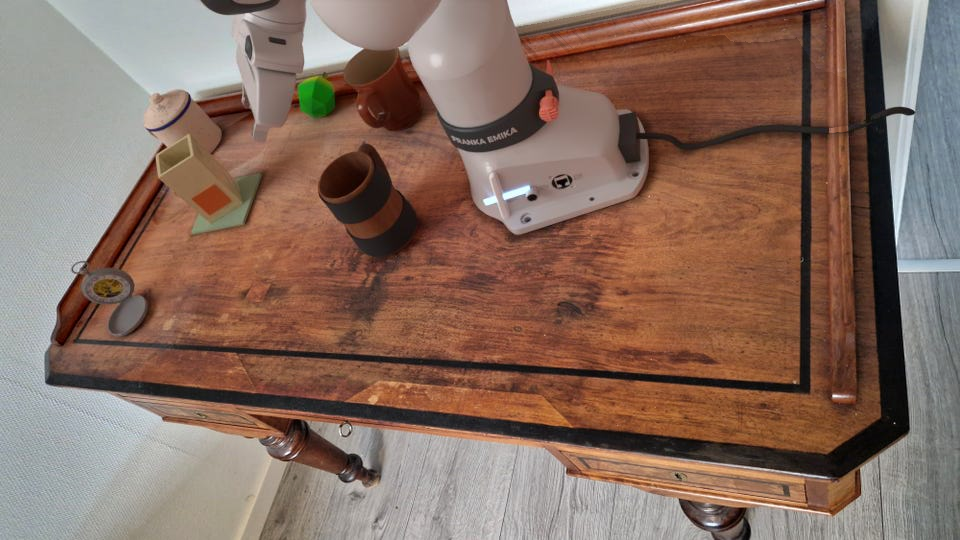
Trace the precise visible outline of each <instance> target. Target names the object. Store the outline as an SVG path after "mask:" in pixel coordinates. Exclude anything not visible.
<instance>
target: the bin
mask: <svg viewBox="0 0 960 540" xmlns="http://www.w3.org/2000/svg"><path fill="white" fill-rule="evenodd" d="M155 163H156V171H157V178H158V179H159V180H160V181H161V182H162V183H163V184H164V185H166V186H167V187H168V188H169V189H170V190H171V191H172V192H173V193H175V194H176V195H177V196H178V197H179V198H180V199H181V200H182V201H183V202H185V203H186V204H187V205H188V206H189V207H190V208H191V209H192V210H194V211H195V212H196V213H197V215H198V214H200V215H201V216H202V217H203V218H204V219H205V220H206V221H208V222H209V223H210V224H212V223H213V222H215V221H217V220H218V219H220V218H221V217H223V216H225V215H226V214H228V213H229V212H231V211H232V210H234V209H236V208H237V207H239V206H240V205H242V204H243V201H242V197H241V193H240V189H239V185H238V181H237V180H235V178H236V177H234V176H233V175H232V174H231V173H230V172H229V171H228V170H227V169H226V168H225V167H224V166H223V165H222V164H221V163H220V162H219V161H218V160H217V159H216V158H215V157H214V156H213V155H212V153H209V152H208V151H207V150H206V149H205V148H204V147H203V146H202V145H201V144H200V143H199V142H198V141H197V140H196V139H195V138H194V137H193V136H192V135H191V134H190V133H189V134H188V135H186V136H185V137H183V138H181V139H180V140H178V141H177V142H175V143H174V144H172V145H170V146H169V147H167V146H166V148H164V149H163V150H161V151H159V152H158V153H156V154H155Z"/></svg>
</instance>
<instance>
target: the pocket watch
mask: <svg viewBox="0 0 960 540" xmlns="http://www.w3.org/2000/svg"><path fill="white" fill-rule="evenodd" d="M78 264H86V267H80V268H79V271H74V268H75V266H77V265H78ZM89 268H90V263H89V262H88V261H87V260H80V261H76V262H75V263H73V264H72V266H71V268H70V271H71V272H72V273H73V274H74V275H85V276H84V278H83V279H82V282H81V285H80V288H81V293H82V295H83V296H84V297H85V298H86V299H87V300H89V301H90V302H93V303H96V304H98V305H99V304H100V305H117V304H118V305H117V306H116V307H115V308H114V309H113V311H112V312H111V314H110V315H109V318H108V321H107V331H108V333H109V334H110V335H112V336H114V337H123V336H127V335H128V334H130V333H132V332H133V331H135V329H137V328H138V327H139V326H140V325H141V323H142V322H143V321H144V319H145V318H146V315H147V313H148V310H149V303H148V299H146V298H145V297H144V296H142V295H139V294H136V295H133V293H134V292H135V282H134V278H132V276H131V275H130V274H129V273H128V272H126V271H125V270H122V269H120V268H116V267H102V268H97V269H94V270H92V271H89Z"/></svg>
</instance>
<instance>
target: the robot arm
mask: <svg viewBox="0 0 960 540" xmlns="http://www.w3.org/2000/svg"><path fill="white" fill-rule="evenodd" d="M195 1H196V2H197V3H198V4H199V5H201V6H202V7H204V8H205V9H207V10H209V11H211V12H213V13H216V14H218V15H222V16H233V21H232V28H231V37H232V39H233V40H234V41H235V42H236V43H237V44H236V45H237V46H236V52H235V62H236V64H237V65H236V66H237V67H238V72H239V74H240V77H241V81H242V83H241V84H242V86H241V87H242V95H241V96H242V97H241V104H242V107H243V108H244V109H245V110H246V109H249V110H251V112H252V115H253V118H254V124H252V128H251V138H252V140H253V141H254V142H256V143H265V142H266V141H267V139H268V134H269V133H268V132H269V131H270V129H271V128H276V129H277V128H278V129H279V128H282V127H283V126H284V125H285V124H286V122H287V120H288V117H289V114H290V110H291V107H292V102H293V98H294V94H295V91H296V86H297V74H299V75H300V74H302V73H303V71H304V68H305V54H304V46H303V41H304V35H305V33H304V32H305V26H306V21H307V0H195ZM309 2H310V5H311V7H312V8H313V10H314V12H315V13H316V15H317V16H318V17H319V19H320V21H322V23H323V24H324V25H325V26H326V27H327V29H329V30H330V31H331V32H332V33H333V34H335V36H337V37H339V38H340V39H342V40H343V41H345V42H347V43H348V44H350V45H352V46H356V47H358V48H361V49H369V50H377V51H385V50H392V49H395V48H398V49H399V48H400V47H403V46H404V45H405V44H407V51H408V56H409V59H410V62H411V65H412V67H413V69H414V71H415V73H416V74H417V76H418V78H419V80H420V82H421V83H422V85H423V86H424V89H425V91H426V92H427V94H428V96H429V98H430V99H431V101H432V103H433V105H434V106H435V108H436V109H435V113H436V116H437V119H438V121H439V123H440V125H441V127H442V130H443V131H444V133H445V135H446V137H447V138H448V140H449V141H450V144H451V145H452V146H453V147H454V148H456V149H457V151H458V153H459V155H460V157H461V160H462V162H463V165H464V169H465V172H466V174H467V178H468V182H469V187H470V194H471V198H472V201H473V203H474V204H475V206H476V207H477V208H478V209H479V210H480V211H481V212H482V213H484V214H485V215H487V216H488V217H491V218H493V219H495V220H498V221H500V222H502V223H503V225H504V226H505V227H506V228H507V229H508V231H509V232H511V234H512V235H513V234H514V235H518V236H519V235H524V234H527V233H531V232H533V231H536V230H537V231H538V230H540V229H542V228H546V227H549V226H552V225H555V224H559V223H561V222H564V221H568V220H571V219H573V218H576V217H580V216H582V215H586V214H589V213H592V212H595V211H598V210H602V209H604V208H607V207H612V206H614V205H618V204H620V203H622V202H626V201H628V200H631V199H634V198H635V197H637V196H638V194H639V193H640V191H641V190H642V188H643V186H644V185H645V182H646V180H647V177H648V171H649V165H650V148H649V142H648V140H659V141H660V140H661V141H667V142H669V143H671V144H672V145H673V146H675V148H677V149H680V150H684V151H685V150H686V151H695V150H700V149H705V148H708V147H712V146H716V145H719V144H723V143H726V142H729V141H732V140H734V139H738V138H741V137H744V136H748V135H753V134H759V133H770V132H771V133H773V132H774V133H777V132H778V133H779V132H783V133H785V132H787V133H796V134H797V133H798V134H813V135H830V134H829V127H830V126H811V125H810V126H808V125H797V124H796V125H795V124H794V125H793V124H763V125H757V126H756V125H755V126H751V127H745V128H742V129H739V130H735V131H733V132H730V133H727V134H724V135H722V136H719V137H716V138H712V139H709V140H706V141H702V142H693V143H691V142H690V143H689V142H688V143H687V142H682V141H680V140H679V139H678V138H677V137H675V136H674V135H671V134H669V133H664V132H663V133H662V132H646V131H645V129H644V128H645V127H644V125H643V123H642V122H641V120H640V118H639V117H638V116H637V112H636V111H631V110H630V109H626V108H625V109H624V108H623V109H622V108H621V109H616V107H615V105H614V104H613V103H612V101H611V100H610V99H609V98H608V97H607V96H606V95H604V94H603V93H601V92H597V91H593V90H592V91H591V90H587V89H583V88H582V89H581V88H577V87H572V86H569V85H564V84H560V83H556V81H555V78H554V69H553V66H552V64H551V61H550V60H549V59H547V60H546V72H545V71H543V70H541V69H539V68H538V67H536V66H535V65H534V64H533V63H531V62H530V61H529V60H528V57H527V55H526V52H525V50H524V47H523V44H522V41H521V39H520V36H519V33H518V31H517V28H516V25H515V22H514V20H513V16H512V14H511V10H510V7H509V3H508V2H509V1H508V0H309ZM884 110H885V111H884ZM884 110H881V111H879V112H877V113H874V114H872V115H870V116H871V120H872V118H874V119H877V118H880V117H881V116H882V118H881V119H879V120H876V121H873V122H869V123H864V124H858V122H860V121H861V120H860V121H857V122H854V123H850V124H847V125H848V127H849V132H848V133H850V132H854V131H858V130H861V129H863V128H866V127H867V126H870V125H872V124H875V123H877V122H878V121H880V120H883V119H885V118H887V117H890V116H893V115H903V116H908V117H911V116H914V115H915V114H916V111H915V110H914V109H912V108H910V107H906V106H892V107H887V108H885V109H884ZM883 116H884V118H883Z"/></svg>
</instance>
